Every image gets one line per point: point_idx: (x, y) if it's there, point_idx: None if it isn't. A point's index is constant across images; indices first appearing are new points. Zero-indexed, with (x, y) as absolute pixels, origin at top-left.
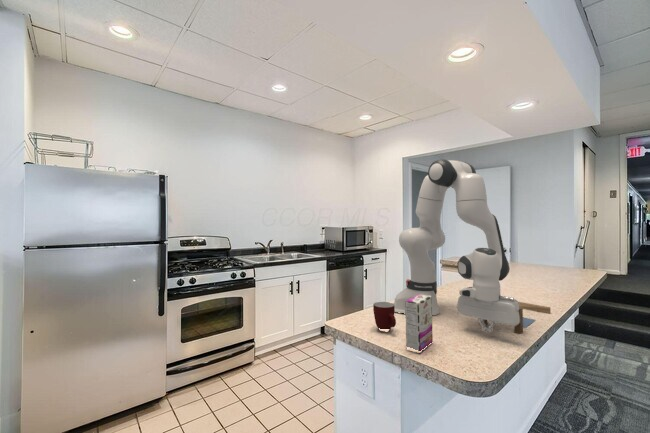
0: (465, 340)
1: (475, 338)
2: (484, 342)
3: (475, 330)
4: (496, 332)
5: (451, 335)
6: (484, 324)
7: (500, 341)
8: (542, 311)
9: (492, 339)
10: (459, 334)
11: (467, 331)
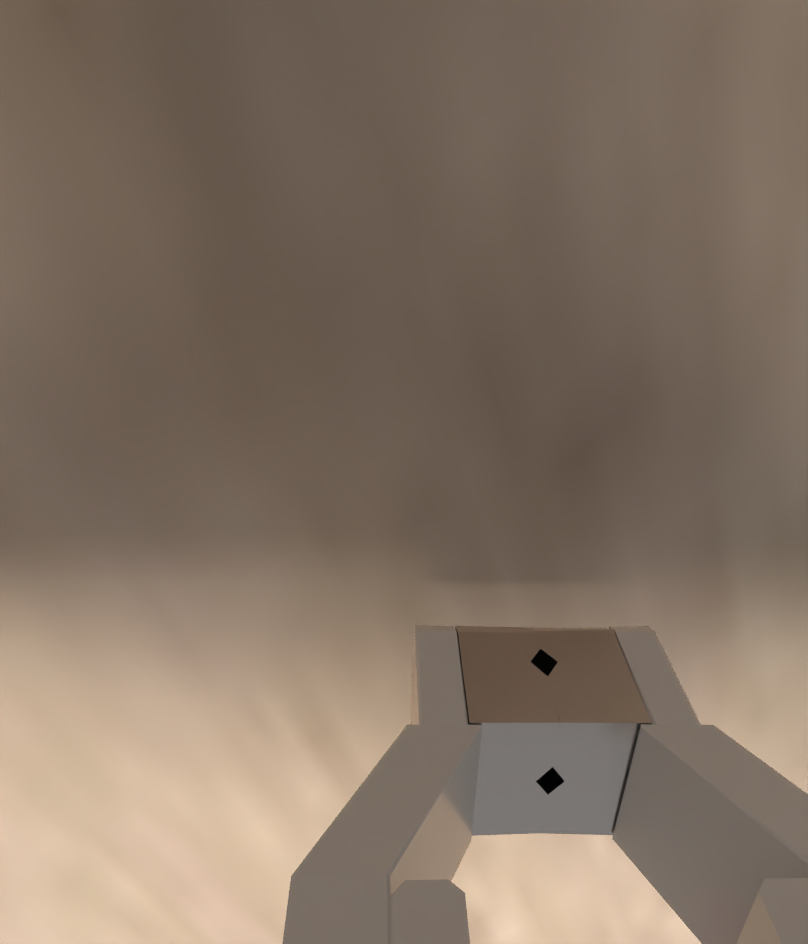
0: (284, 916)
1: (358, 773)
2: None
3: (98, 352)
4: (618, 30)
5: (11, 894)
6: (462, 789)
7: (790, 617)
8: None
9: (631, 625)
10: (55, 792)
11: (29, 560)
